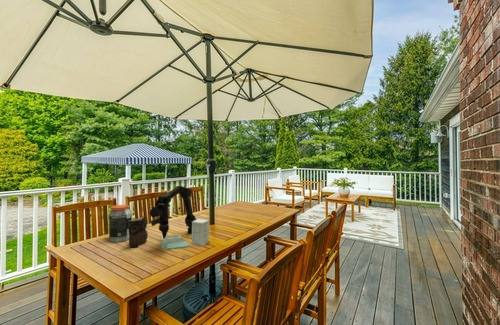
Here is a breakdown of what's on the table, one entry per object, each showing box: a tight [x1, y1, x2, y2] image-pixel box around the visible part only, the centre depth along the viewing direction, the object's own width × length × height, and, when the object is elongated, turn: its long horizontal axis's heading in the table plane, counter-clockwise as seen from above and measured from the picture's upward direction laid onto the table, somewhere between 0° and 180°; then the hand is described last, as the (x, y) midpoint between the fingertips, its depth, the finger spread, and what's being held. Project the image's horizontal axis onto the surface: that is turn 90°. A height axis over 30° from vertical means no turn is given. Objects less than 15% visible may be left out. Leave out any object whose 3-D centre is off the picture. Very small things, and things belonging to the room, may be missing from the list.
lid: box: [161, 240, 189, 250], centre depth 167 cm, size 18×9×5 cm, turn 110°
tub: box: [161, 233, 182, 244], centre depth 178 cm, size 14×9×4 cm, turn 110°
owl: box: [128, 216, 149, 249], centre depth 170 cm, size 13×13×20 cm
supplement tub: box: [108, 204, 133, 243], centre depth 184 cm, size 16×16×26 cm
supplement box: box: [191, 218, 210, 246], centre depth 174 cm, size 10×9×17 cm
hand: (164, 236), depth 164 cm, fingers open, 9 cm apart
